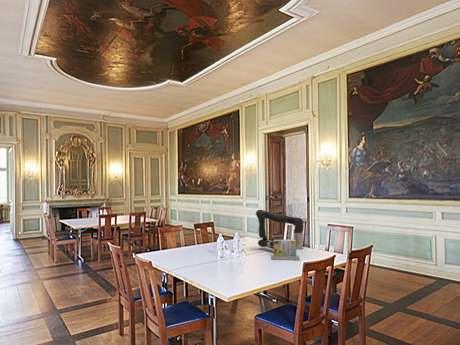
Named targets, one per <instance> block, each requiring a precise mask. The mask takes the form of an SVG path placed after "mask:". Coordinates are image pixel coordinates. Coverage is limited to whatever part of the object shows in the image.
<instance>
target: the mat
mask: <svg viewBox="0 0 460 345" xmlns="http://www.w3.org/2000/svg"><path fill="white" fill-rule="evenodd" d="M270 261H301V258H300V256H299V255H298V256H297V255H296V256H274V255H271V258H270Z"/></svg>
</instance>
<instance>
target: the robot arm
mask: <svg viewBox="0 0 460 345" xmlns="http://www.w3.org/2000/svg"><path fill="white" fill-rule="evenodd" d="M255 215H256V217H257V220H258V236H259V238H260V239H259V240H258V241H257V244H258V246H259V247H260V248H261V247H262V248H269V249H273V250H274V240H268V238H267V235H266V219H267V220H268V219H269V220H271V221H273V222H276V223H280V224H290V225H293V226H294V229H293V240H296V250H303V249H304V241H303V239H304V237H303V236H304V235H303V234H304V233H303V231H304V221H303V219H302V218H301V217H297V216H288V215H287V214H286V215H285V214H283V213H277V212H271V211H266V210H263V209H258V210H256V212H255Z"/></svg>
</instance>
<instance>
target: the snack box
mask: <svg viewBox="0 0 460 345" xmlns="http://www.w3.org/2000/svg"><path fill="white" fill-rule="evenodd" d="M273 241H274V249H273V256H297V249H296V240H294V239H273Z"/></svg>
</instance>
